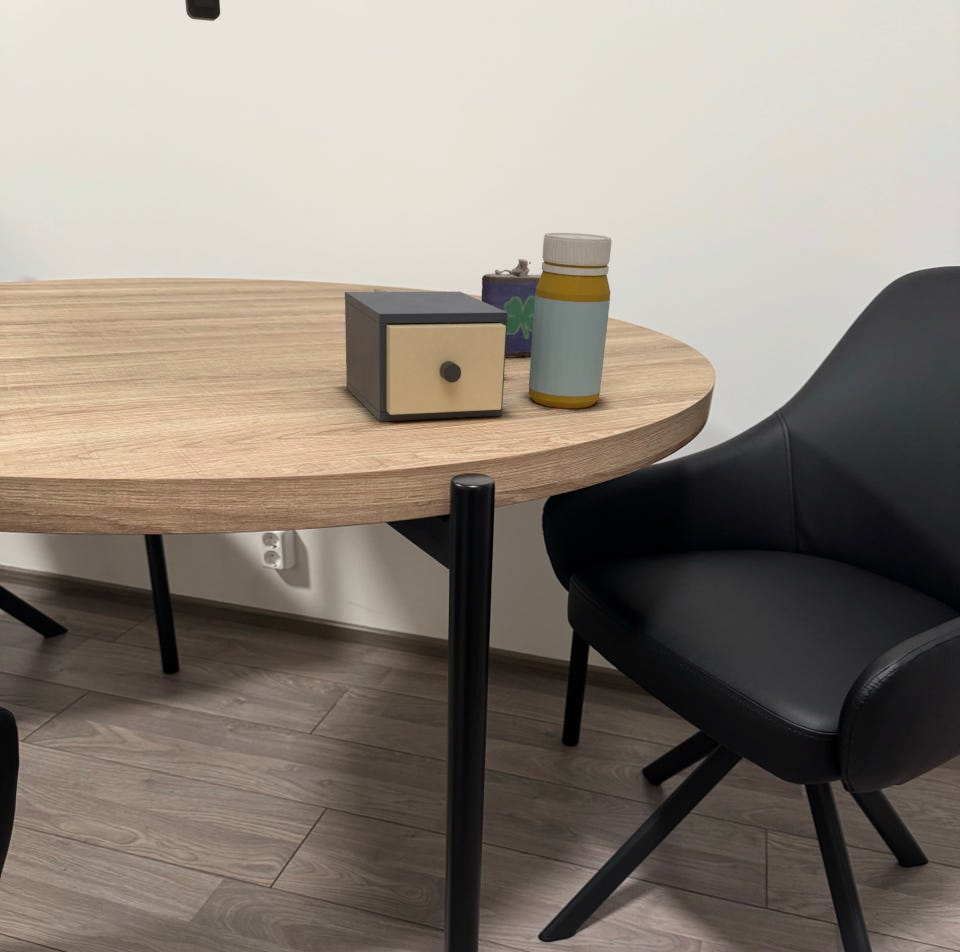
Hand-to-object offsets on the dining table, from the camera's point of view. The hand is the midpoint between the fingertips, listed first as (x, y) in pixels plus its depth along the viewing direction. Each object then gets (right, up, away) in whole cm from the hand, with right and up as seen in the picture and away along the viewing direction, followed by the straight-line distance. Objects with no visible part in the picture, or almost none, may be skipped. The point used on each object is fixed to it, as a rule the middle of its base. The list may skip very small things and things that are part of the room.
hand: (203, 18), depth 67 cm
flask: (+24, -10, +45) cm, 52 cm away
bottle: (+28, -21, +26) cm, 43 cm away
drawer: (+15, -22, +20) cm, 33 cm away
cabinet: (+14, -22, +23) cm, 34 cm away
